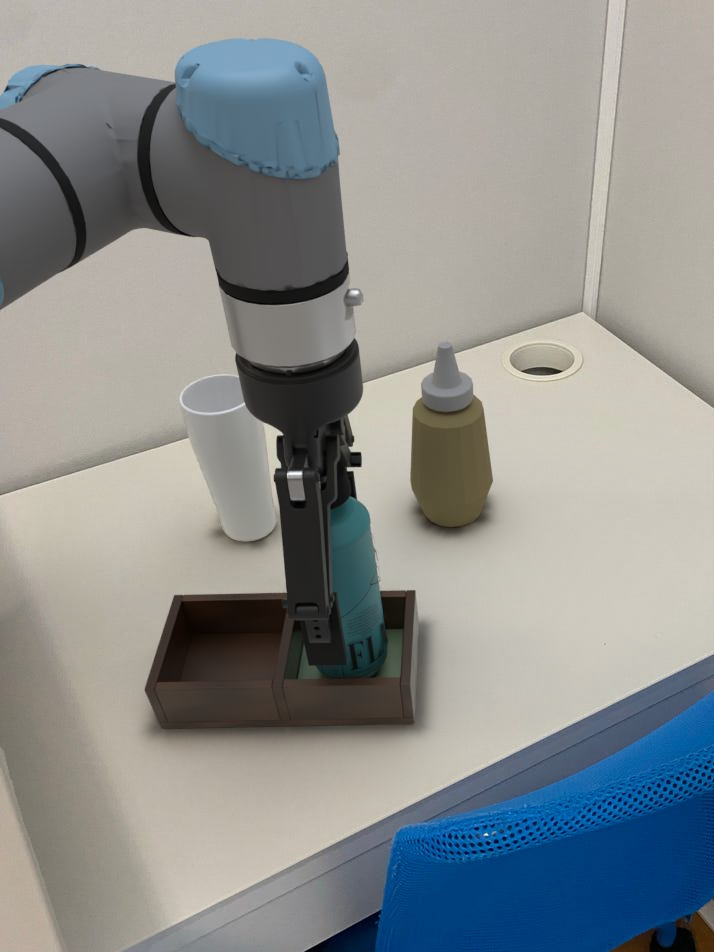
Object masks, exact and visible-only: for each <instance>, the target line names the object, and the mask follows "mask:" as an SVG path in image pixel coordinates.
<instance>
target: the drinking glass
mask: <svg viewBox="0 0 714 952" xmlns="http://www.w3.org/2000/svg"><path fill="white" fill-rule="evenodd" d="M178 403H179V407H180V411H181V416H182V420H183V424H184V428H185V432H186V434H187V438H188V440H189V443H190V446H191V448H192V451H193V454H194V457H195V459H196V461H197V463H198V466H199V469H200V471H201V474H202V477H203V479H204V481H205V484H206V486H207V489H208V492H209V494H210V497H211V499H212V502H213V504H214V508H215V510H216V512H217V515H218V517H219V518H218V519H219V522H220V525H221V528H222V531H223V532H224V534H225V535H226V536H227V537H228V538H230V539H232V540H234V541H238V542H254V541H258V540H260V539H263V538H265V537H266V536H268V535H270V534H271V533H272V532H273V530H274V529H275V527H276V525H277V520H278V518H277V512H276V508H275V502H274V495H273V488H272V486H273V485H272V480H271V470H270V462H269V461H270V460H269V453H268V445H267V438H266V430H265V423H264V422H262V421H260V420H258V419H257V418H255V417H254V416H253V415H252V414H251V413H250V412H249V410H248V409H247V407H246V405H245V402H244V398H243V394H242V389H241V384H240V380H239V375H238V374H230V373H221V374H220V373H219V374H213V375H212V374H211V375H208V376H203V377H201V378H199V379H196V380H194V381H192V382H190V383H189V384H187V385H186V386H185V387H184V388H183V389H182V390H181V392H180V394H179V397H178Z"/></svg>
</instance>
